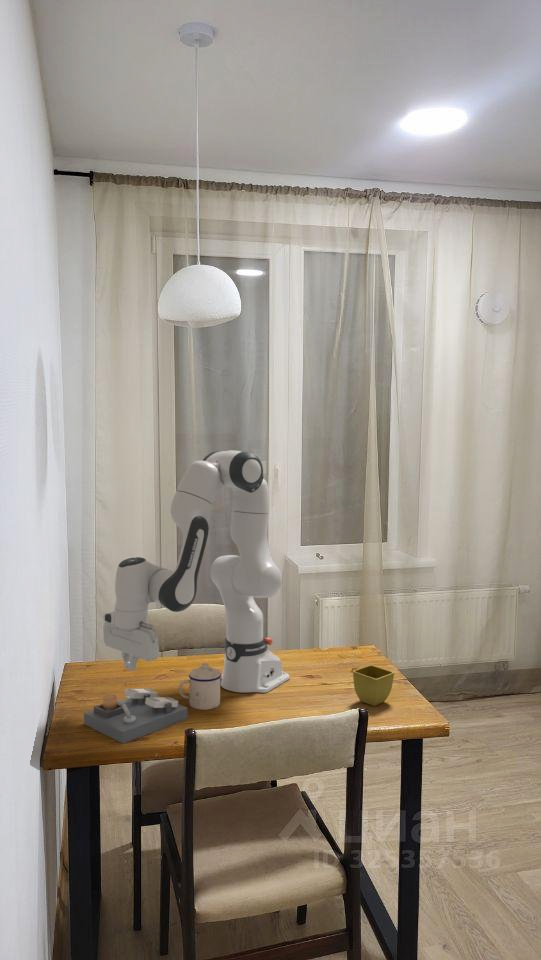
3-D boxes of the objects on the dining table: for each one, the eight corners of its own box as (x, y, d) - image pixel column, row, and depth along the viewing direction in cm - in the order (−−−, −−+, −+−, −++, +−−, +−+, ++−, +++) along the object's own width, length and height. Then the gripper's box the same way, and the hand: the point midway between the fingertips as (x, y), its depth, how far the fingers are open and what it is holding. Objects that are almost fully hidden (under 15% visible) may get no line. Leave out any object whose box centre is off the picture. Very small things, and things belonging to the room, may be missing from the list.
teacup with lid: (217, 697, 211) (218, 657, 210) (223, 709, 202) (224, 668, 202) (176, 700, 208) (176, 660, 207) (180, 712, 199) (180, 671, 199)
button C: (111, 702, 194) (111, 693, 194) (119, 706, 192) (119, 697, 191) (100, 706, 191) (100, 697, 191) (108, 710, 189) (108, 701, 189)
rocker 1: (146, 694, 204) (148, 688, 204) (155, 698, 201) (157, 692, 201) (124, 694, 198) (125, 688, 198) (133, 698, 195) (134, 692, 195)
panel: (145, 701, 207) (145, 673, 207) (187, 718, 195) (187, 689, 195) (81, 722, 192) (81, 692, 191) (123, 743, 180) (123, 711, 179)
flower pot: (394, 702, 209) (395, 671, 208) (375, 710, 203) (376, 679, 202) (370, 694, 215) (370, 664, 215) (351, 701, 209) (351, 671, 209)
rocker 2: (167, 703, 198) (168, 696, 198) (177, 707, 195) (178, 700, 195) (144, 703, 192) (146, 696, 192) (154, 707, 189) (155, 701, 189)
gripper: (165, 624, 191) (164, 675, 192) (118, 609, 205) (117, 658, 206) (146, 628, 186) (144, 681, 187) (99, 613, 200) (98, 662, 201)
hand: (130, 669), depth 196 cm, fingers closed
